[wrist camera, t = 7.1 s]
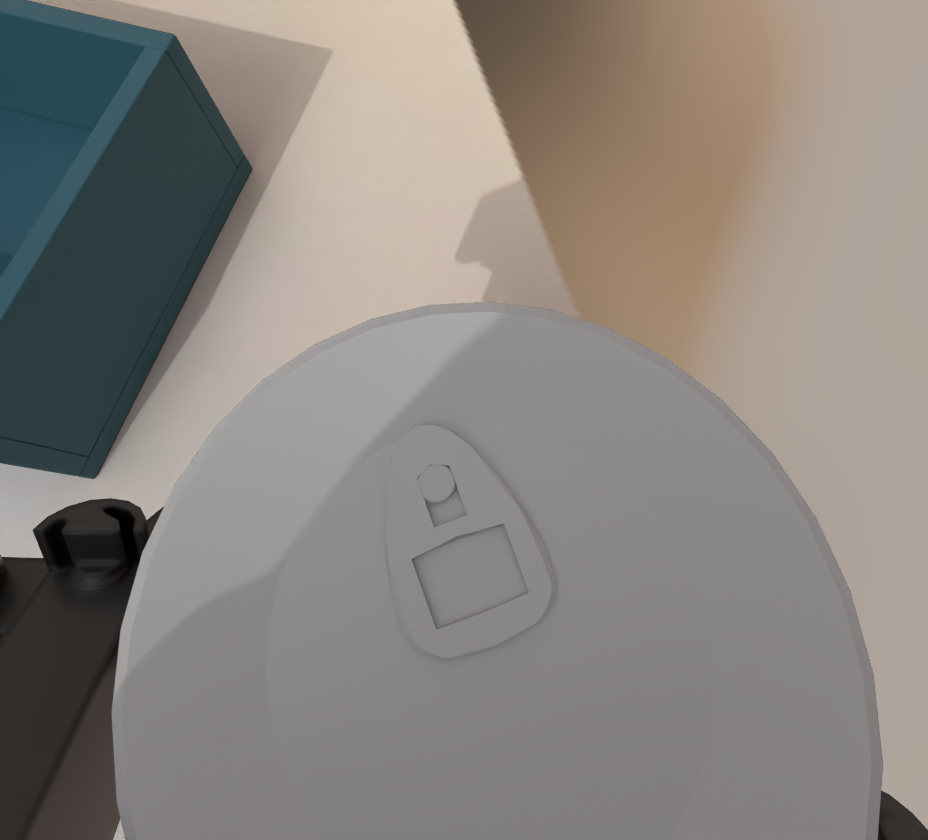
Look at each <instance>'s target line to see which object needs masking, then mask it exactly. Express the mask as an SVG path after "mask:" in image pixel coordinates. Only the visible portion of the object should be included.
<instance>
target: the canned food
mask: <svg viewBox="0 0 928 840" xmlns="http://www.w3.org/2000/svg"><path fill="white" fill-rule="evenodd" d="M111 713H112V730H113V747H114V764H115V781H116V798H117V805H118V810H119V814H120V818H121V822H122V826H123V831H124V835H125V839H126V840H878V827H879V813H880V799H881V786H882V772H883V759H882V750H881V741H880V731H879V722H878V712H877V702H876V692H875V683H874V674H873V670H872V667H871V663H870V660H869V656H868V653H867V649H866V646H865V642H864V638H863V635H862V631H861V628H860V624H859V621H858V617H857V613H856V610H855V606H854V602H853V599H852V595H851V592H850V589H849V587H848V586H847V583H846V581H845V579H844V576H843V574H842V572H841V570H840V568H839V566H838V564H837V562H836V559H835V557H834V555H833V553H832V551H831V548H830V547H829V544H828V542H827V540H826V538H825V536H824V534H823V531H822V529H821V527H820V525H819V523H818V520H817V519H816V517H815V515H814V514H813V512H812V511H811V509H810V508H809V506H808V505H807V503H806V502H805V500H804V499H803V497H802V496H801V494H800V493H799V491H798V490H797V489H796V487H795V486H794V484H793V483H792V481H791V480H790V478H789V477H788V475H787V474H786V472H785V471H784V469H783V468H782V466H781V465H780V463H779V462H778V461H777V459H776V457H775V456H774V455H773V453H772V452H771V451H770V450H769V449H768V448H767V447H766V446H765V445H764V444H763V443H762V441H761V440H760V439H759V438H758V437H757V436H756V435H755V434H754V433H753V432H752V431H751V430H750V429H749V428H748V427H747V426H746V425H745V424H744V422H743V421H742V420H741V419H740V418H739V417H738V416H737V415H736V414H735V413H734V412H733V411H732V410H731V409H730V408H729V407H728V406H727V404H726V403H725V402H724V401H723V400H721V399H720V398H719V397H717V396H716V395H715V394H714V393H712V392H711V391H710V390H708V389H707V388H706V387H704V386H703V385H702V384H700V383H699V382H698V381H696V380H695V379H694V378H692V377H691V376H689V374H687V373H686V372H685V371H683V370H682V369H681V368H679V367H678V366H677V365H675V364H674V363H673V362H671V361H670V360H669V359H667V358H665V357H663V356H661V355H660V354H657V353H655V352H654V351H652V350H650V349H648V348H646V347H644V346H642V345H640V344H638V343H637V342H635V341H633V340H631V339H629V338H627V337H625V336H623V335H621V334H619V333H617V332H615V331H613V330H612V329H609V328H606V327H603V326H599V325H597V324H594V323H591V322H587V321H584V320H581V319H578V318H575V317H572V316H568V315H565V314H562V313H559V312H556V311H553V310H549V309H541V308H533V307H526V306H518V305H510V304H502V303H494V302H477V303H458V304H440V305H427V306H423V307H419V308H415V309H411V310H407V311H403V312H399V313H394V314H390V315H386V316H382V317H378V318H374V319H370V320H368V321H366V322H363V323H361V324H359V325H357V326H355V327H352V328H350V329H348V330H346V331H343V332H341V333H339V334H337V335H334V336H332V337H330V338H328V339H326V340H323V341H321V342H319V343H317V344H314V345H313V346H312V347H310V348H309V349H307V350H306V351H304V352H303V353H301V354H300V355H298V356H297V357H296V358H294V359H293V360H291V361H290V362H288V363H287V364H285V365H284V366H283V367H281V368H280V369H278V370H277V371H275V372H274V373H272V374H271V375H269V376H268V377H267V378H265V379H264V380H262V381H261V382H260V383H259V384H258V385H257V386H256V387H255V388H254V389H253V390H252V391H251V392H250V393H249V394H248V395H247V396H246V397H245V398H244V399H243V400H242V401H241V402H240V403H239V404H238V405H237V406H236V407H235V408H234V409H233V410H232V411H231V412H230V413H229V414H228V415H227V416H226V417H225V418H224V419H223V420H222V421H221V422H220V423H219V424H218V425H217V426H216V427H215V428H214V430H213V431H212V432H211V434H210V435H209V437H208V438H207V439H206V441H205V442H204V444H203V445H202V447H201V448H200V449H199V451H198V452H197V454H196V455H195V456H194V458H193V459H192V461H191V462H190V464H189V465H188V466H187V468H186V469H185V471H184V472H183V474H182V475H181V476H180V478H179V479H178V481H177V482H176V483H175V485H174V487H173V489H172V491H171V493H170V495H169V497H168V500H167V502H166V504H165V506H164V508H163V510H162V512H161V514H160V516H159V518H158V521H157V523H156V525H155V527H154V529H153V531H152V533H151V535H150V537H149V540H148V542H147V544H146V546H145V548H144V550H143V552H142V556H141V559H140V563H139V566H138V570H137V573H136V577H135V580H134V584H133V587H132V591H131V594H130V598H129V601H128V605H127V608H126V612H125V615H124V619H123V623H122V626H121V631H120V640H119V649H118V658H117V667H116V676H115V685H114V694H113V703H112V712H111Z"/></svg>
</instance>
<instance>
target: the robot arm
mask: <svg viewBox="0 0 928 840" xmlns="http://www.w3.org/2000/svg"><path fill="white" fill-rule="evenodd" d="M163 508H164V507H163ZM163 508H161V509H160V510H159V511H158V512H156V513H155V514H154V515H153V516H152V517H150V518H149V519H148V520H147V521H146V518H145V516H144V514H143V512H142V510H141V508H140V507H138V506H136V505H134V504H132V503H131V502H129V501H124V500H118V499H111V498H110V499H98V500H89V501H85V502H82V503H78V504H75V505H71V506H68V507H66V508H64V509H62V510H60V511H58V512H56V513H54V514H52V515H50V516H48V517H47V518H46V519H45V520H43V521H42V522H41V523H40V524H39V525H38V526H37V527H35V528H34V529H33V532H34V534H35V537H36V540H37V542H38V545H39V547H40V550H41V552H42V555H43V557H44V558H15V557H1V555H0V840H113V838H114V835H115V832H116V830H117V827H118V824H119V821H120V814H119V810H118V805H117V798H116V781H115V764H114V747H113V730H112V713H111V712H112V703H113V694H114V685H115V676H116V667H117V658H118V649H119V640H120V631H121V626H122V623H123V619H124V615H125V612H126V608H127V605H128V601H129V598H130V594H131V591H132V587H133V584H134V580H135V577H136V573H137V570H138V566H139V563H140V559H141V556H142V552H143V550H144V548H145V546H146V544H147V542H148V540H149V537H150V535H151V533H152V531H153V529H154V527H155V525H156V523H157V521H158V518H159V516H160V514H161V512H162V510H163ZM878 840H928V830H927V829H926V828H925V827H924V825H923V824H922V823H921V822H920V821H919V820H918V819H917V818H916V817H915V816H914V814H913V813H912V812H910V811H909V810H908V809H907V808H905V807H904V806H903V805H902V804H900V803H899V802H898V801H897V800H895V799H894V798H893V797H892V796H890V795H889V794H887V793H885V792H883V791H881V799H880V813H879V827H878Z"/></svg>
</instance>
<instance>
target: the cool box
mask: <svg viewBox="0 0 928 840" xmlns="http://www.w3.org/2000/svg"><path fill="white" fill-rule="evenodd" d="M251 169H252V167H251V165H250V163H249V162H248V160H247V158H246V157H245V155H244V154H243V152H242V150H241V148H240V147H239V145H238V143H237V141H236V140H235V138H234V136H233V135H232V133H231V131H230V129H229V128H228V126H227V124H226V122H225V121H224V119H223V117H222V115H221V114H220V112H219V110H218V108H217V107H216V105H215V103H214V102H213V100H212V98H211V96H210V95H209V93H208V91H207V89H206V88H205V86H204V84H203V82H202V81H201V79H200V77H199V75H198V74H197V72H196V70H195V68H194V67H193V65H192V63H191V62H190V60H189V58H188V56H187V55H186V53H185V51H184V49H183V48H182V46H181V44H180V42H179V41H178V39H177V37H176V36H175V35H174V34H170V33H166V32H161V31H157V30H153V29H148V28H144V27H140V26H135V25H131V24H127V23H122V22H118V21H114V20H109V19H105V18H101V17H96V16H92V15H88V14H83V13H79V12H75V11H70V10H66V9H62V8H57V7H53V6H49V5H44V4H40V3H36V2H31V1H27V0H0V463H3V464H9V465H14V466H20V467H26V468H32V469H38V470H44V471H49V472H55V473H61V474H67V475H73V476H79V477H85V478H90V479H94V478H95V477H96V475H97V473H98V471H99V469H100V467H101V465H102V463H103V461H104V459H105V457H106V455H107V453H108V451H109V449H110V447H111V445H112V443H113V441H114V439H115V437H116V435H117V433H118V431H119V429H120V427H121V426H122V424H123V422H124V420H125V418H126V416H127V414H128V412H129V410H130V408H131V406H132V404H133V402H134V400H135V398H136V396H137V394H138V392H139V390H140V388H141V386H142V384H143V382H144V380H145V378H146V376H147V374H148V372H149V370H150V368H151V366H152V364H153V362H154V360H155V358H156V356H157V354H158V352H159V351H160V349H161V347H162V345H163V343H164V341H165V339H166V337H167V335H168V333H169V331H170V329H171V327H172V325H173V323H174V321H175V319H176V317H177V315H178V313H179V311H180V309H181V307H182V305H183V303H184V301H185V299H186V297H187V295H188V293H189V291H190V289H191V287H192V285H193V283H194V281H195V279H196V278H197V276H198V274H199V272H200V270H201V268H202V266H203V264H204V262H205V260H206V258H207V256H208V254H209V252H210V250H211V248H212V246H213V244H214V242H215V240H216V238H217V236H218V234H219V232H220V230H221V228H222V226H223V224H224V222H225V220H226V218H227V216H228V214H229V212H230V210H231V208H232V206H233V205H234V203H235V201H236V199H237V197H238V195H239V193H240V191H241V189H242V187H243V185H244V183H245V181H246V179H247V177H248V175H249V173H250V171H251Z"/></svg>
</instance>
